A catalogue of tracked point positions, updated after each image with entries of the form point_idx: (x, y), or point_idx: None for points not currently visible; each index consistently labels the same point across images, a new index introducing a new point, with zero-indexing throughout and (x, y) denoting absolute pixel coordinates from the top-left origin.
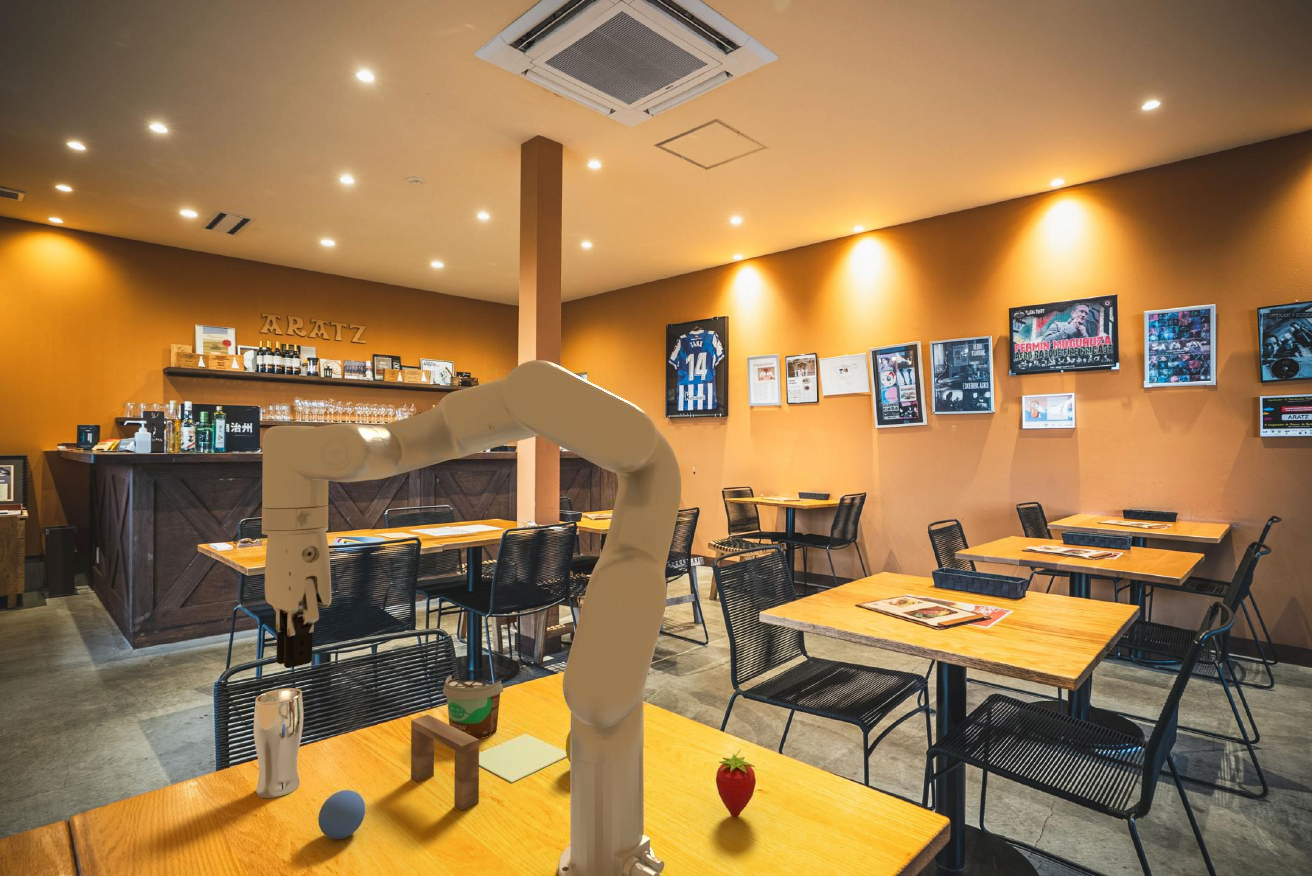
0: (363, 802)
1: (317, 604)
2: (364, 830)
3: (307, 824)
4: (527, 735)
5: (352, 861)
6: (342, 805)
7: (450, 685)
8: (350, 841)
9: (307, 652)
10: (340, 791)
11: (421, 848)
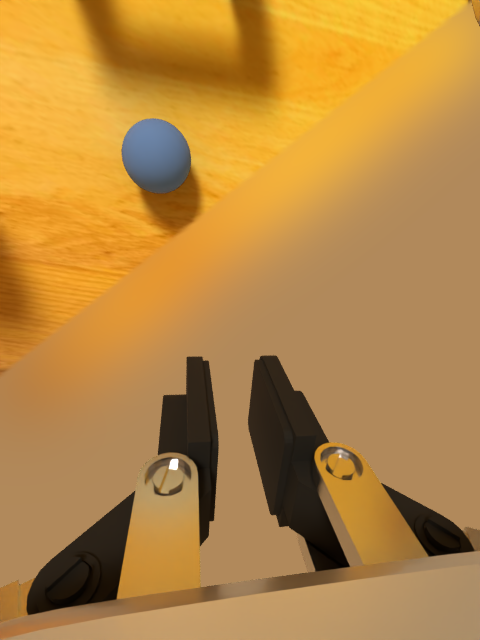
0: (172, 127)
1: (366, 565)
2: None
3: (89, 175)
4: None
5: (229, 182)
6: (178, 169)
7: None
8: None
9: (306, 400)
10: (145, 154)
11: (278, 104)
